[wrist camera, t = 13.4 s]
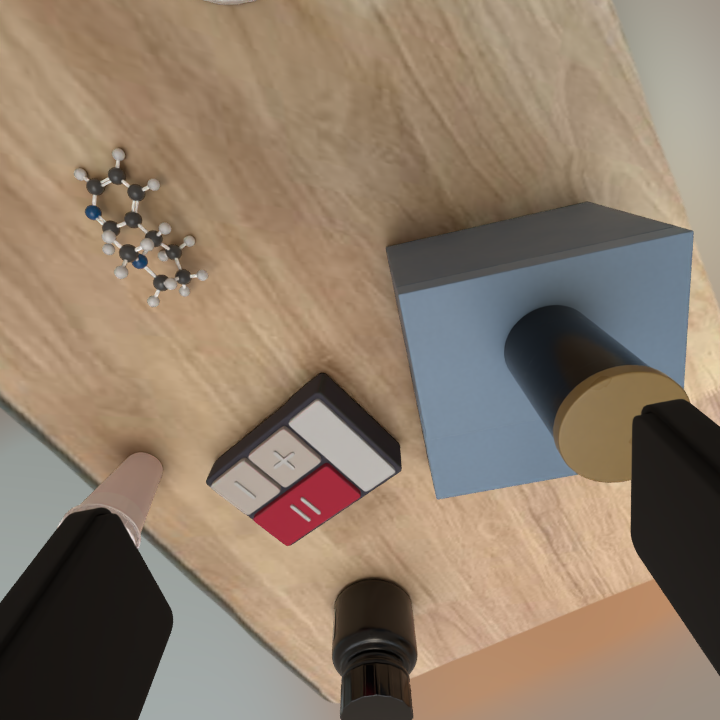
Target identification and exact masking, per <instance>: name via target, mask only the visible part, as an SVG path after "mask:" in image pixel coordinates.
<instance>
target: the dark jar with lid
mask: <svg viewBox="0 0 720 720" xmlns="http://www.w3.org/2000/svg"><path fill="white" fill-rule="evenodd" d="M504 358H505V362H506V365H507V367H508V369H509V371H510V372H511V374H512V375H513V377H514V379H515V380H516V382H517V383H518V385H519V386H520V388H521V389H522V391H523V392H524V394H525V395H526V397H527V398H528V400H529V401H530V403H531V405H532V406H533V408H534V409H535V411H536V412H537V414H538V415H539V417H540V418H541V420H542V421H543V423H544V424H545V426H546V427H547V429H548V431H549V432H550V434H551V435H552V437H553V438H554V442H555V445H556V448H557V450H558V452H559V454H560V455H561V457H562V458H563V460H564V461H565V463H566V464H567V465H568V466H569V467H570V468H571V469H572V470H573V471H574V472H576V473H577V474H579V475H581V476H583V477H585V478H587V479H590V480H593V481H598V482H607V483H612V482H624V481H628V480H631V473H632V422H633V418H634V417H635V416H637V415H641V411H642V409H643V407H644V406H646V405H649V404H654V403H659V402H665V401H670V400H675V399H684V400H686V401H688V402H689V403H690V401H689V398H688V396H687V394H686V392H685V391H684V389H683V388H682V387H681V386H680V385H679V384H678V383H676V382H675V381H674V380H673V379H671V378H670V377H669V376H667V375H666V374H665V373H663V372H661V371H659V370H657V369H654V368H651V367H650V366H648V365H647V364H646V363H645V362H643V361H642V360H641V359H639V358H638V357H637V356H636V355H634V354H633V353H632V352H630V351H629V350H628V349H627V348H625V347H624V346H623V345H621V344H620V343H619V342H618V341H616V340H615V339H614V338H613V337H611V336H610V335H609V334H607V333H606V332H605V331H604V330H602V329H601V328H600V327H598V326H597V325H596V324H595V323H593V322H592V321H591V320H589V319H588V318H587V317H586V316H584V315H583V314H582V313H581V312H579V311H577V310H576V309H574V308H571V307H568V306H563V305H549V306H544V307H540V308H538V309H535V310H533V311H531V312H529V313H528V314H526V315H525V316H523V317H522V318H521V319H520V320H519V321H518V322H517V323H516V324H515V325H514V326H513V328H512V329H511V331H510V333H509V334H508V337H507V339H506V342H505V347H504Z"/></svg>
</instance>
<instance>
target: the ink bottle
mask: <svg viewBox="0 0 720 720" xmlns="http://www.w3.org/2000/svg"><path fill="white" fill-rule="evenodd" d="M332 660H333V664H334V667H335V669H336V670H337V672H338V673H339V674H340V675H341V676H342V684H341V707H340V718H341V720H412V719H413V709H412V699H411V689H410V684H409V682H410V678H409V674H410V673H411V672H412V670H413V669H414V667H415V664H416V661H417V645H416V636H415V628H414V619H413V610H412V604H411V601H410V598H409V597H408V595H407V594H406V593H405V592H404V591H403V590H402V589H401V588H399V587H398V586H396V585H394V584H392V583H389V582H386V581H381V580H365V581H361V582H358V583H355V584H353V585H351V586H349V587H348V588H346V589H345V590H344V591H343V592H342V593H341V594H340V595H339V597H338V598H337V600H336V603H335V607H334V622H333V643H332Z"/></svg>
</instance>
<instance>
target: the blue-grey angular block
mask: <svg viewBox="0 0 720 720" xmlns="http://www.w3.org/2000/svg"><path fill="white" fill-rule="evenodd" d="M693 234H694V233H693V231H692V230H688V229H684V228H681V227H677V226H674V225H670V224H667V223H663V222H659V221H656V220H652V219H648V218H645V217H641V216H638V215H634V214H630V213H627V212H623V211H620V210H616V209H612V208H609V207H605V206H601V205H598V204H594V203H591V202H584V203H579V204H575V205H571V206H566V207H562V208H557V209H553V210H548V211H544V212H540V213H535V214H531V215H526V216H522V217H517V218H513V219H508V220H504V221H500V222H495V223H491V224H486V225H482V226H477V227H473V228H468V229H464V230H460V231H455V232H451V233H446V234H442V235H437V236H433V237H428V238H424V239H420V240H415V241H411V242H406V243H402V244H397V245H393V246H388V247H386V252H387V257H388V262H389V267H390V272H391V277H392V282H393V287H394V292H395V297H396V302H397V307H398V312H399V317H400V322H401V327H402V332H403V337H404V342H405V347H406V352H407V357H408V361H409V367H410V372H411V377H412V382H413V387H414V392H415V397H416V402H417V407H418V412H419V417H420V422H421V427H422V432H423V437H424V442H425V447H426V452H427V457H428V462H429V467H430V471H431V476H432V480H433V485H434V489H435V494H436V498H437V499H443V498H449V497H454V496H460V495H466V494H471V493H477V492H482V491H488V490H494V489H499V488H505V487H511V486H516V485H522V484H527V483H533V482H539V481H544V480H550V479H556V478H561V477H567V476H572V475H578V474H577V473H576V472H574V471H573V470H572V469H571V468H570V467H569V466H568V465H567V464H566V463H565V461H564V460H563V458H562V457H561V455H560V454H559V452H558V450H557V448H556V445H555V442H554V438H553V437H552V435H551V434H550V432H549V431H548V429H547V427H546V426H545V424H544V423H543V421H542V420H541V418H540V417H539V415H538V414H537V412H536V411H535V409H534V408H533V406H532V405H531V403H530V401H529V400H528V398H527V397H526V395H525V394H524V392H523V391H522V389H521V388H520V386H519V385H518V383H517V382H516V380H515V379H514V377H513V375H512V374H511V372H510V371H509V369H508V367H507V365H506V362H505V358H504V347H505V342H506V339H507V337H508V334H509V333H510V331H511V329H512V328H513V326H514V325H515V324H516V323H517V322H518V321H519V320H520V319H521V318H522V317H523V316H525V315H526V314H528V313H529V312H531V311H533V310H535V309H538V308H540V307H544V306H549V305H563V306H568V307H571V308H574V309H576V310H577V311H579V312H581V313H582V314H583V315H584V316H586V317H587V318H588V319H589V320H591V321H592V322H593V323H595V324H596V325H597V326H598V327H600V328H601V329H602V330H604V331H605V332H606V333H607V334H609V335H610V336H611V337H613V338H614V339H615V340H616V341H618V342H619V343H620V344H621V345H623V346H624V347H625V348H627V349H628V350H629V351H630V352H632V353H633V354H634V355H636V356H637V357H638V358H639V359H641V360H642V361H643V362H645V363H646V364H647V365H648V366H650V367H651V368H654V369H657V370H659V371H661V372H663V373H665V374H666V375H667V376H669V377H670V378H671V379H673V380H674V381H675V382H676V383H678V384H679V385H680V386H681V387H682V388H683V389H684V376H685V360H686V344H687V329H688V313H689V297H690V281H691V266H692V250H693Z"/></svg>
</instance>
